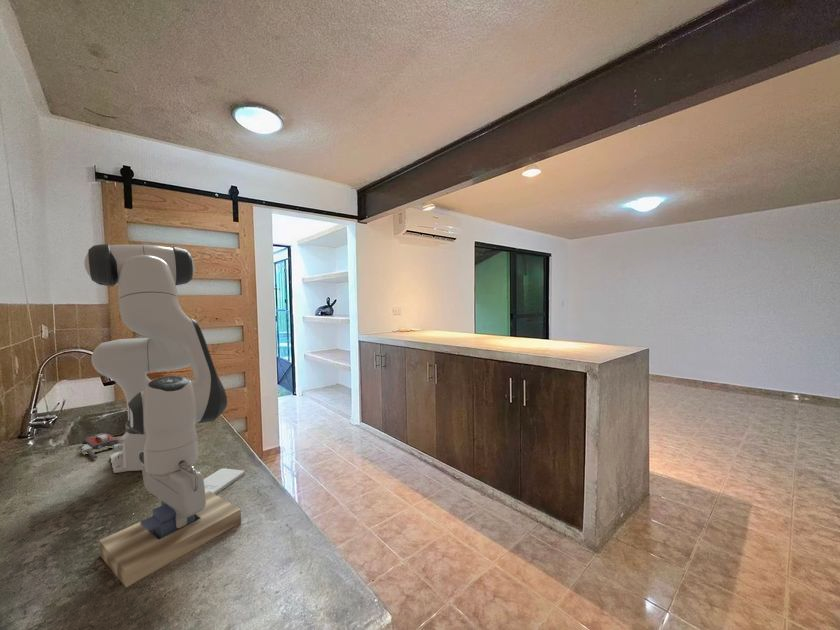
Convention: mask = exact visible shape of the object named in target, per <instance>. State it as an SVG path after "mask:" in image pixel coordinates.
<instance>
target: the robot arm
mask: <svg viewBox="0 0 840 630" xmlns="http://www.w3.org/2000/svg"><path fill="white" fill-rule="evenodd" d="M84 269H85V271H86V273H87V274H88V276H89V277H90V279H91V281H92V282H94V283H96V284H97V285H100V286H106V287H112V288H113V287H114V286H117V294H118V295H117V298H118V307H119V314H120V318H121V320H122V321H121V322H122V323H123V324H124V325H125V326H126V328H127V329H129V330H130V331H132V332H133V333H136V334H138V335H140V336H142V337H135V338H120V339H115V340H114V339H113V340H110V341H106V342H105V341H104V342H101V343H100V344H98V345H97V346H96V347H95V348H94V350H93V352H92V354H91V358H90V360H91V364H92V367H93V368H94V370H95V371H96V372H97V373H99V374H100V375H102V376H104V377H107V378H108V379H111V380H112V381H113V382H115V383H116V384H117V385H118V386H119V387H120V388H121V390H122V391H123V394H124V397H125V400H126V406H127V420H126V423H125V433H124V434H123V435H122V436H121V437H120V438H119V439H118V444H116V445H113V448H112V451H113V453H112V454H111V455H109V459H110V458H111V461H110V463H112V465H111V469H112V468H113V469H112V472H113V473H114V474H118V473H124V472H136V471H141V472H142V479H143V485H144V487H145V489H146V490H147V492H149V493H150V494H152V495H154V496H155V497H156V498H158V502H159V504H160V506H162V505H164V504H167V505H168V506H170V507H171V508H173V509H174V510H175V512H176V517H175V518H174V525H175V526H176V527H177V528H180V527H182V526H184V525H186V524H187V517H190V516H192V515H194V514H196V513H198V512H200V511H202V510H203V509H204V508H205V505H206V497H205V487H204V477H203V474H202V472H201V471H200V470H198V469H197V468H196V466H194V463H196V462H197V461H198V459H199V449H198V448H199V447H198V445H199V444H198V439H199V438H198V434H197V431H196V424H204V423H209V422H214V421H216V420H217V419H218V418H219V417H221V415H222V414H223V412H225V410H226V408H227V407H228V396H227V393H226V390H225V388H224V385H223V383H222V381H221V379H220V377H219V375H218V373H217V370H216V368H215V364H214V362H213V358H212V356H211V353H210V350H209V347H208V344H207V341H206V339H205V336H204V334H203V331H202V328H201V327H200V325H199V323H198V322H197V320H196V319H194V318H191V317H189V316H188V315H187V314H186V313H185V312H184V310H183V308H182V306H181V305H180V302H179V296H178V290H177V286H181V285H185V284H188V283H189V282H190V281H192V280H193V277H194V274H195V272H196V270H195V269H196V265H195V261H194V259H193V257H192V255H191V253H190V252H189V251H188V250H187V249H184V248H181V247H176V246H172V247H169V246H164V245H156V244H144V243H143V244H109V243H102V244H101V243H100V244H95V245H92V246H91V247H90V248H89V249H88V251H87V253H86V255H85V258H84ZM187 367H188V368H189V367H191V369H192V372H193V375H194V378H195V381H194V382H192V380H191V379H190V378H189V377H186V376H181V375H180V376H179V375H169V376H168V375H167V376H162V377H157V378H156V379H152V380H151V378H149V376H148V375H147V374H149V373H155V372H158V373H159V372H168V371H177V370H181V369H185V368H187Z"/></svg>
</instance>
